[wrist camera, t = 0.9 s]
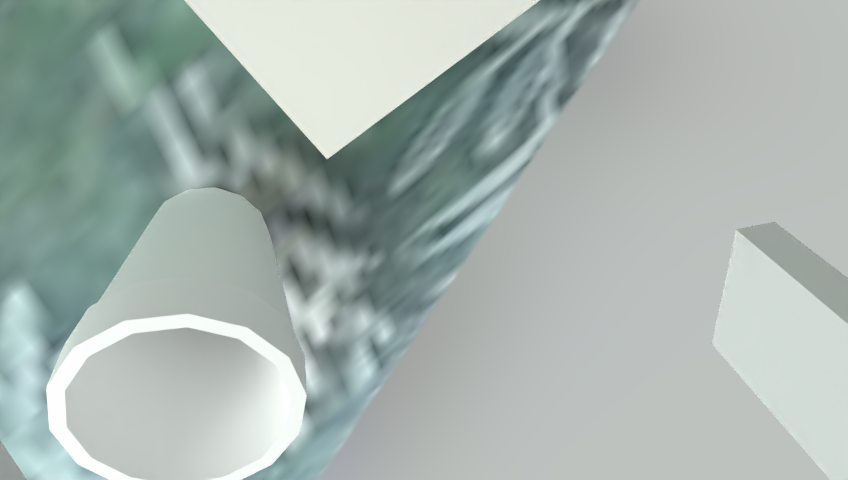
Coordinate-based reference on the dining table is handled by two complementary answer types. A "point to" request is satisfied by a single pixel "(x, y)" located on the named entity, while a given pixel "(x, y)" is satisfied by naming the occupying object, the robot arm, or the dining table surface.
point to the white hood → (350, 53)
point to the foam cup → (184, 353)
